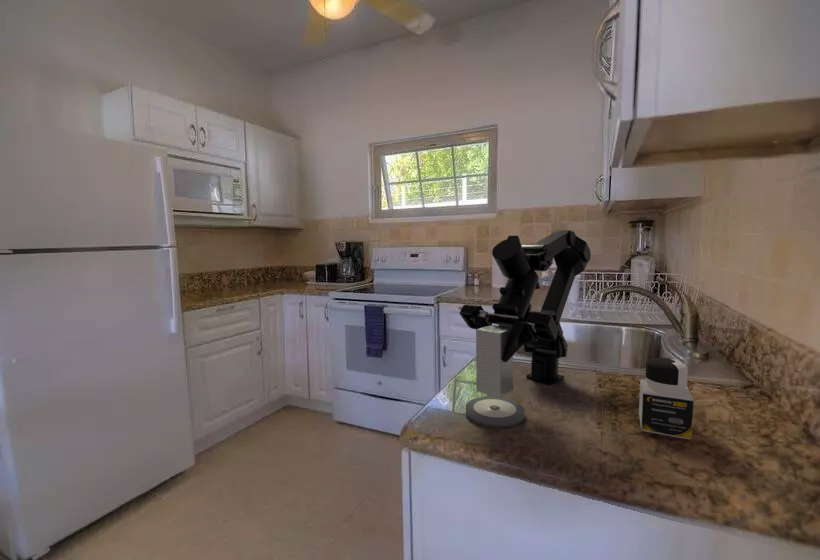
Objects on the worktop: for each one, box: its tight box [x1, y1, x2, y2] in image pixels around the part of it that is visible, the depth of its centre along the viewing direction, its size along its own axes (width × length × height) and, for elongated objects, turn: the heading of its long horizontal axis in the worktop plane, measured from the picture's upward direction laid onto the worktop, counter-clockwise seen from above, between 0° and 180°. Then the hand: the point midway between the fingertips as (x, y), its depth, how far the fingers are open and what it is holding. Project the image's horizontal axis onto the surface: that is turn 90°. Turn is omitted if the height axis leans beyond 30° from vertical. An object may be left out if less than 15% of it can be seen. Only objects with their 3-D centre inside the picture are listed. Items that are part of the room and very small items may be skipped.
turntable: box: [465, 395, 525, 429], centre depth 74 cm, size 11×11×1 cm
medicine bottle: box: [638, 357, 695, 440], centre depth 67 cm, size 7×7×12 cm
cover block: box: [475, 324, 514, 398], centre depth 73 cm, size 5×5×12 cm
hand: (491, 358), depth 72 cm, fingers closed on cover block, 5 cm apart
